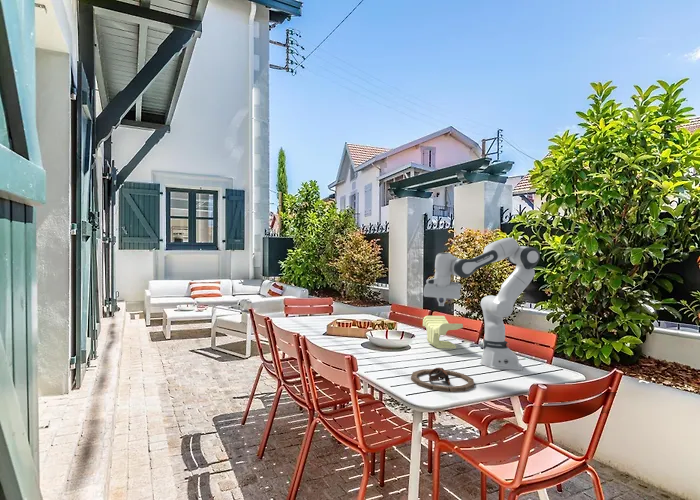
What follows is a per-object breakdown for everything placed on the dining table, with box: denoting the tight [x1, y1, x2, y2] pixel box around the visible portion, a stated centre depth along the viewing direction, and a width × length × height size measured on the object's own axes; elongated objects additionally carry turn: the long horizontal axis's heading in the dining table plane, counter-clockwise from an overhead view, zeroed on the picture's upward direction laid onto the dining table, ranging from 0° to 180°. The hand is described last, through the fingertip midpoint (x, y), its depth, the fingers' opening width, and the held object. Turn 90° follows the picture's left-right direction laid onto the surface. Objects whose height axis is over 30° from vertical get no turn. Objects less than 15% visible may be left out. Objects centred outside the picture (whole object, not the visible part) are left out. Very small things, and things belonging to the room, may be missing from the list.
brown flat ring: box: [410, 368, 475, 393], centre depth 203 cm, size 30×30×2 cm
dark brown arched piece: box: [428, 367, 451, 386], centre depth 201 cm, size 12×10×8 cm
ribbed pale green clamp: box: [422, 315, 464, 349], centre depth 280 cm, size 30×16×18 cm, turn 10°
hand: (441, 305), depth 232 cm, fingers closed
